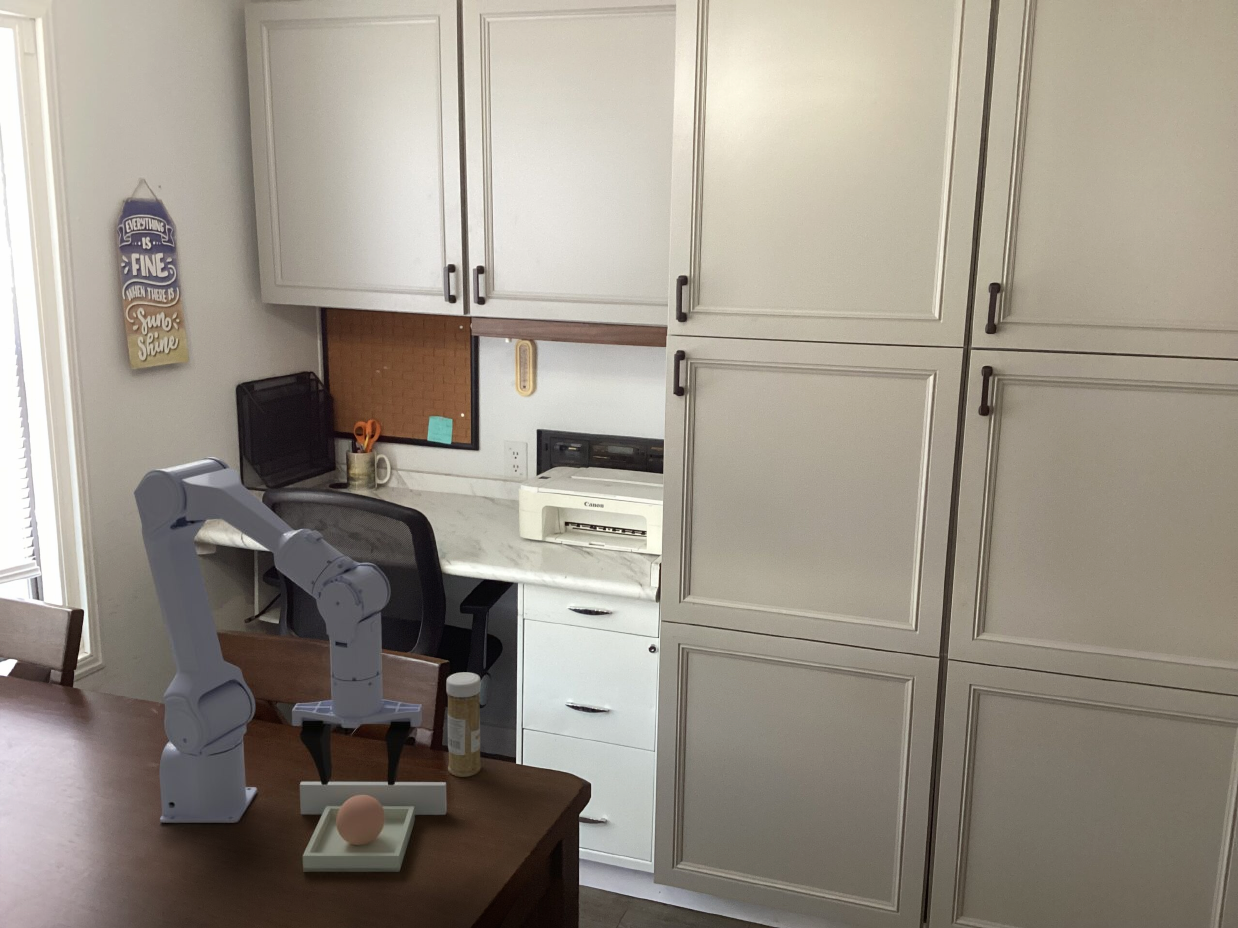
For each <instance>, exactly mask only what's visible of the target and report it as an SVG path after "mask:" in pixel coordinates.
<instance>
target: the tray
mask: <svg viewBox="0 0 1238 928" xmlns="http://www.w3.org/2000/svg"><path fill="white" fill-rule="evenodd" d="M340 807H341V806H326V808H325V810H324V812H323V814H321V816H320V818H319V820H318V823H317V825H316V827H315V829H314V831H313V833H312V835H311V837H310V840H309V841H308V844H307V846H306V848H305V850H304V852H303V854H302V871H303V872H304V873H309V872H311V873H312V872H313V873H315V872H316V873H320V872H321V873H328V872H329V873H333V872H335V873H339V872H340V873H364V872H365V873H381V872H382V873H387V872H388V873H400V870H401V867H402V865H403V861H404V857H405V855H406V851H407V847H408V844H409V841H410V838H411V834H412V831H413V828H414V825H415V821H416V817H415V816H416V815H415V806H382V807H383V809H384V813H385V823H384V827H383V829H382V831H381V833H380V834H379V835H378V836H377V837H376V838H375V839H374V840H373V841H371V842H369V843H367V844H363V845H354V844H351V843H348V842H347V841H345V840H344V839H343V838H342V837H341V836H340V834H339V832H338V830H337V826H336V818H337V814H338V811H339V809H340Z"/></svg>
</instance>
